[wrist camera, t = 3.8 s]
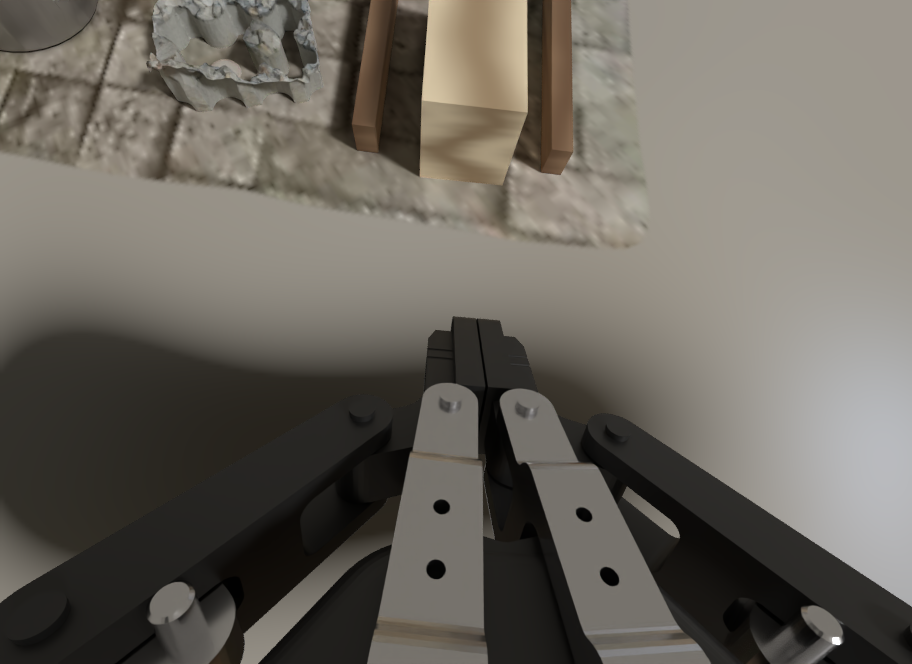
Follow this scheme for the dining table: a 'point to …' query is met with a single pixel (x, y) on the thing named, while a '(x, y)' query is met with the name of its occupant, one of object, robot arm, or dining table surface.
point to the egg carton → (220, 22)
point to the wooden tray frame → (553, 81)
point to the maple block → (473, 89)
